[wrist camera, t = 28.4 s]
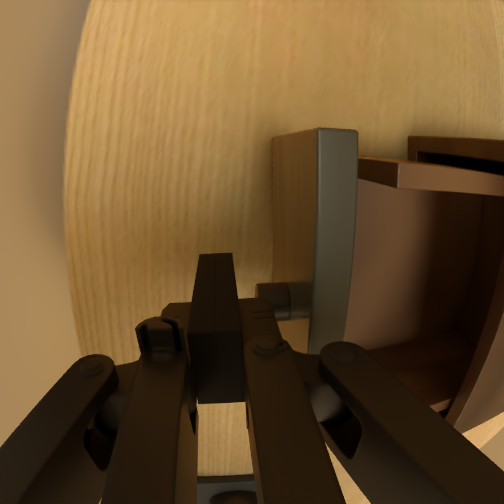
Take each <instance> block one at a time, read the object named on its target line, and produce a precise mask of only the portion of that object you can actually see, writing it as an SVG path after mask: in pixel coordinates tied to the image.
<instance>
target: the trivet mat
mask: <svg viewBox="0 0 504 504" xmlns="http://www.w3.org/2000/svg"><path fill="white" fill-rule="evenodd" d="M228 491H252V492H256V488H255V480H254V475H242V476H224V477H197V504H209V500H210V499H211V498H212V497H213V496H215V495H217V494H220V493H223V492H228Z"/></svg>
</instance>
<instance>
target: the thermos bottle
mask: <svg viewBox="0 0 504 504" xmlns="http://www.w3.org/2000/svg"><path fill="white" fill-rule="evenodd" d="M209 504H258V502H257V495H256V492H252V491H228V492H223V493H220V494H217V495H215V496H213V497H212V498H211V499H210V500H209Z"/></svg>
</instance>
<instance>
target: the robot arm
mask: <svg viewBox="0 0 504 504" xmlns="http://www.w3.org/2000/svg"><path fill="white" fill-rule="evenodd" d="M135 331H136V335H137V339H138V344H139V348H140V352H141V355H140V358H139V360H137V361H135V362H132V363H128V364H123V365H117V366H115V365H114V362H113V360H112V359H111V358H110V357H108V356H105V355H102V354H93V355H87V356H85V357H83V358H80V359H79V360H78V361H76V362H75V363H74V364H73V365H72V366H71V367H70V368H69V369H68V370H67V372H66V373H65V374H64V375H63V376H62V377H61V378H60V379H59V380H58V381H57V382H56V384H55V385H54V386H53V387H52V388H51V389H50V390H49V391H48V393H47V394H46V395H45V396H44V397H43V398H42V399H41V401H39V403H38V404H37V405H36V406H35V407H34V408H33V409H32V411H31V412H30V413H29V414H28V415H27V417H26V418H25V419H24V420H23V421H22V422H21V423H20V425H19V426H18V427H17V428H16V429H15V430H14V432H13V433H12V434H11V435H10V436H9V438H8V439H7V440H6V441H5V443H4V444H3V445H2V446H1V447H0V504H98V503H99V502H100V499H101V498H102V500H101V504H197V461H198V419H199V416H198V411H197V406H196V404H197V399H198V404H213V403H233V402H245V403H246V422H247V429H248V434H249V442H250V450H251V458H252V465H253V473H254V480H255V488H256V495H257V502H258V504H346V502H345V499H344V496H343V493H342V490H341V487H340V485H339V482H338V479H337V476H336V473H335V470H334V467H333V464H332V462H331V459H330V456H329V453H328V450H327V447H326V444H327V445H328V447H329V448H330V450H331V451H332V452H333V454H334V455H335V456H336V458H337V459H338V461H339V462H340V463H341V465H342V466H343V467H344V469H345V470H346V471H347V473H348V474H349V475H350V477H351V478H352V479H353V481H354V482H355V483H356V485H357V486H358V487H359V488H360V490H361V491H362V492H363V494H364V495H365V496H366V498H367V499H368V500H369V501H370V503H371V504H504V471H503V470H502V469H500V468H499V467H498V466H497V465H496V464H495V463H494V462H493V461H491V460H490V459H489V458H488V457H487V456H486V455H484V454H483V453H482V452H481V451H480V450H479V449H478V448H477V447H475V446H474V445H473V444H472V443H471V442H470V441H469V440H467V439H466V438H465V437H464V436H463V435H462V434H461V433H460V432H458V431H457V430H456V429H455V428H454V427H453V426H452V425H450V424H449V423H448V422H447V421H446V420H445V419H444V418H442V417H441V416H440V415H439V414H438V413H437V412H436V411H434V410H433V409H432V408H431V407H430V406H429V405H428V404H426V403H425V402H424V401H423V400H422V399H421V398H420V397H418V396H417V395H416V394H415V393H414V392H413V391H412V390H410V389H409V388H408V387H407V386H406V385H405V384H404V383H402V382H401V381H400V380H399V379H398V378H397V377H396V376H394V375H393V374H392V373H391V372H390V371H389V370H388V369H386V368H385V367H384V366H383V365H382V364H381V363H380V362H379V361H377V360H376V359H375V358H374V357H373V356H372V355H371V354H369V353H368V352H367V351H366V350H365V349H364V348H362V347H361V346H359V345H357V344H355V343H351V342H346V341H337V342H331V343H329V344H327V345H325V346H324V347H323V348H322V349H321V350H320V355H317V354H306V353H300V352H297V351H294V350H293V349H292V348H291V346H290V344H289V343H288V341H286V340H284V339H283V338H282V335H281V332H280V329H279V326H278V323H277V320H276V318H275V314H274V312H273V308H272V305H271V303H270V302H269V301H267V300H266V299H265V298H263V297H261V298H245V299H238V294H237V287H236V279H235V271H234V263H233V256H232V253H216V254H200V255H199V260H198V266H197V272H196V278H195V284H194V290H193V296H192V302H185V303H170V304H168V305H167V306H166V307H165V308H164V309H163V310H162V313H161V316H159V317H152V318H149V319H146V320H144V321H143V322H141V323H139V324H138V326H137V327H136V328H135ZM324 441H325V442H324ZM325 443H326V444H325Z"/></svg>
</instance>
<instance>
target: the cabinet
mask: <svg viewBox="0 0 504 504" xmlns="http://www.w3.org/2000/svg"><path fill="white" fill-rule="evenodd" d="M408 160H410V161H420V162H429V163H437V164H445V165H452V166H460V167H466V168H473V169H479V170H485V171H490V172H496V173H501V174H504V140H495V139H481V138H464V137H437V136H409V137H408ZM502 412H504V250H503V256H502V261H501V265H500V270H499V274H498V279H497V283H496V287H495V291H494V294H493V298H492V302H491V305H490V309H489V312H488V315H487V319H486V322H485V325H484V328H483V331H482V334H481V337H480V340H479V342H478V345H477V348H476V351H475V353H474V356H473V358H472V361H471V364H470V366H469V368H468V371H467V373H466V376H465V378H464V380H463V383H462V385H461V387H460V389H459V391H458V394H457V396H456V398H455V400H454V402H453V404H452V406H451V407H449V408H447V409H444V410H442V411H439V412H437V413H438V414H439V415H440V416H441V417H442V418H444V419H445V420H446V421H447V422H448V423H449V424H450V425H452V426H453V427H454V428H455V429H456V430H457V431H458V432H460V433H461V434H462V433H464V432H466V431H468V430H470V429H472V428H474V427H476V426H478V425H480V424H482V423H484V422H486V421H488V420H489V419H491V418H493V417H495V416H497V415H498V414H500V413H502Z"/></svg>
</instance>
